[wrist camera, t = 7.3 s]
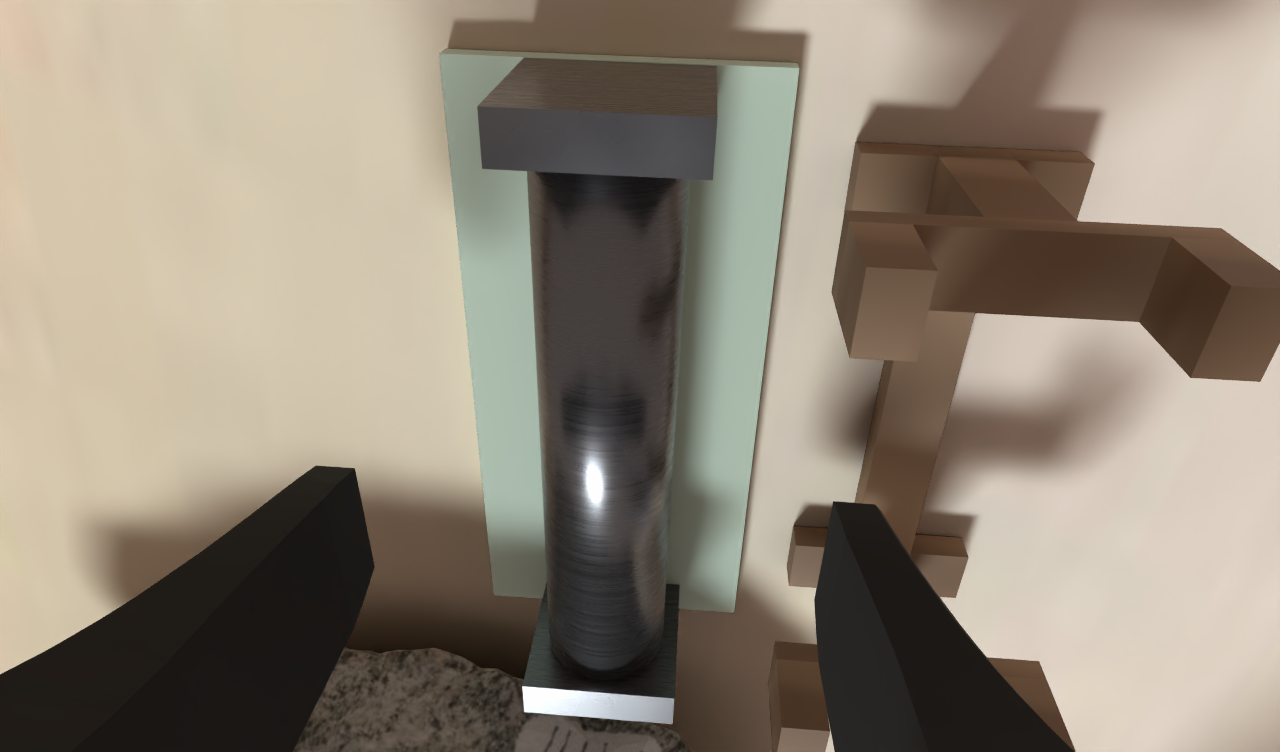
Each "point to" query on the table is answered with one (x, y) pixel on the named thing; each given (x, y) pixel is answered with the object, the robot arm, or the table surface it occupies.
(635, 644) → the column with square cap
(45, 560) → the table surface
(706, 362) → the mat
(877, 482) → the rail stand
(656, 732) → the rock
